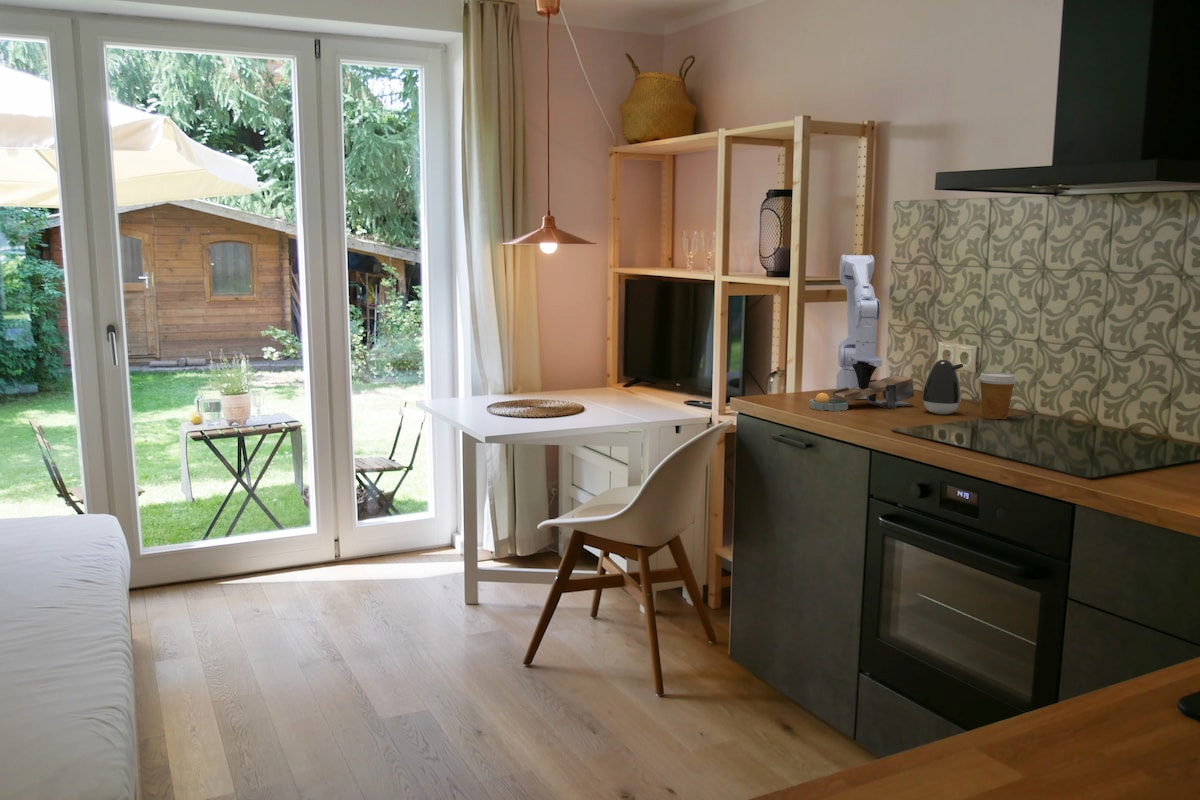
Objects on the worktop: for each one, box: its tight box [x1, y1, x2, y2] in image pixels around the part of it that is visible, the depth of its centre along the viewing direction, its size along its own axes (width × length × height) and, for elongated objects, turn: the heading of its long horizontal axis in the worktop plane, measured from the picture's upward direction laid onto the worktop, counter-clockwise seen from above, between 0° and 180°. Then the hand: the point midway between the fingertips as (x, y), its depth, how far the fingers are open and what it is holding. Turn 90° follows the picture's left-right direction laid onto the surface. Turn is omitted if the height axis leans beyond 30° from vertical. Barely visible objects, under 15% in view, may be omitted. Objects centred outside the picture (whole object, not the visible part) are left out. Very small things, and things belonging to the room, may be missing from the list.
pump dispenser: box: [922, 359, 964, 415], centre depth 275 cm, size 10×10×15 cm
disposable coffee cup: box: [978, 371, 1017, 420], centre depth 269 cm, size 10×10×12 cm
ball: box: [814, 392, 830, 404], centre depth 282 cm, size 4×4×4 cm
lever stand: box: [866, 378, 912, 410], centre depth 288 cm, size 9×11×7 cm
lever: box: [831, 374, 915, 403], centre depth 286 cm, size 22×8×6 cm, turn 106°
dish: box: [809, 397, 849, 412], centre depth 283 cm, size 11×11×2 cm
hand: (863, 388), depth 285 cm, fingers closed, pressing on lever
